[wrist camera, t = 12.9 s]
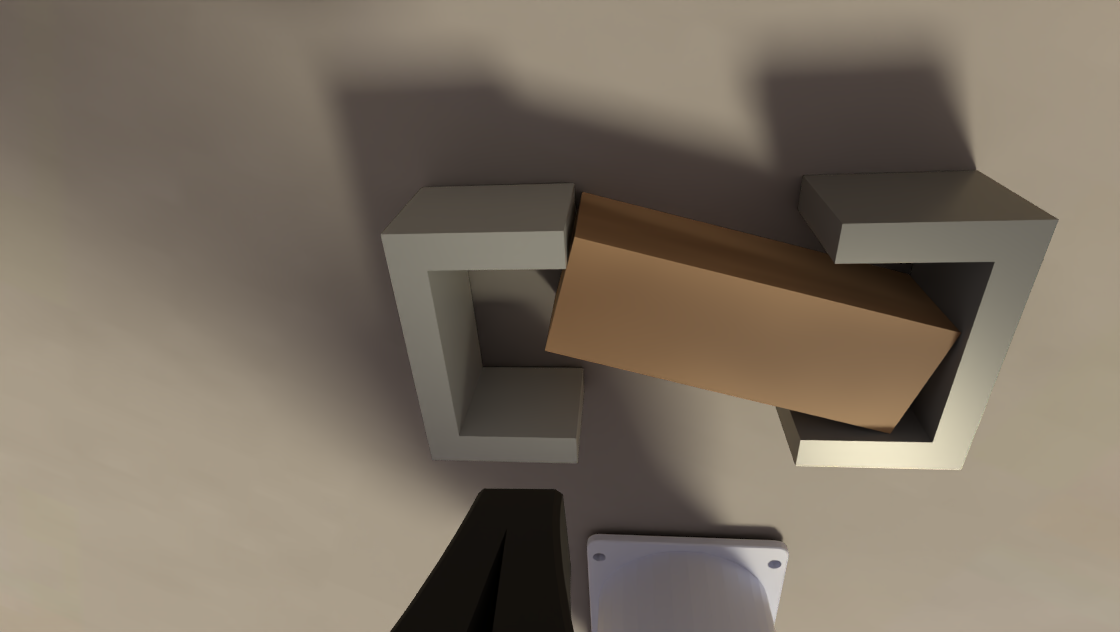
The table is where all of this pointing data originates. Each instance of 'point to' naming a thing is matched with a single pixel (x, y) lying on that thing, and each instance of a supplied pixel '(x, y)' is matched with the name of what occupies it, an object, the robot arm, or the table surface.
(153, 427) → the table surface
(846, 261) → the fixed cap
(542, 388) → the cap
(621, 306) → the brown wooden block
